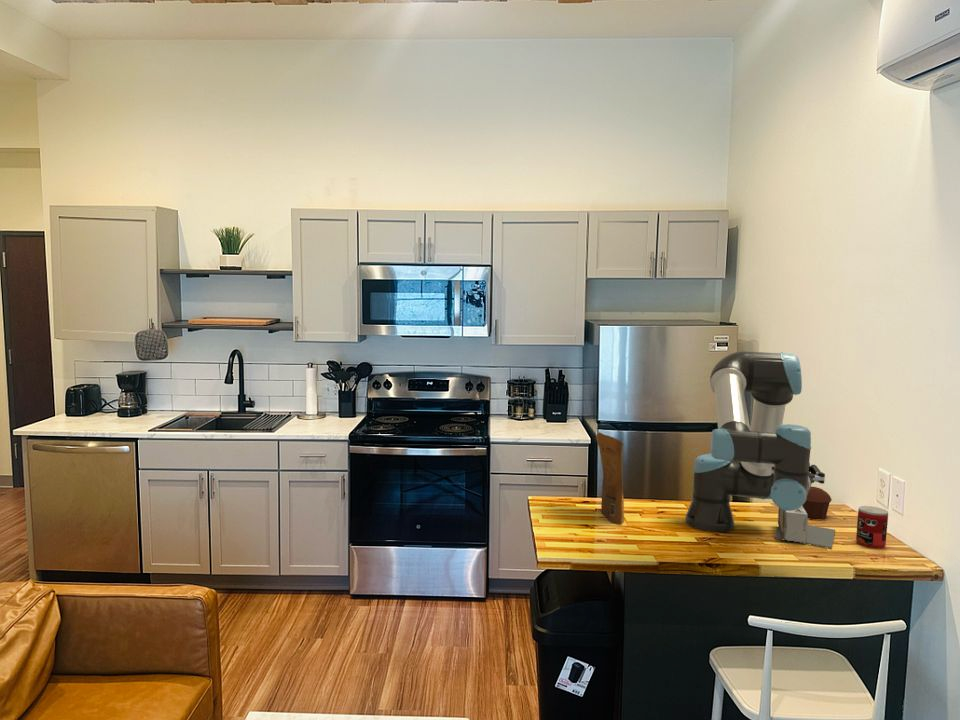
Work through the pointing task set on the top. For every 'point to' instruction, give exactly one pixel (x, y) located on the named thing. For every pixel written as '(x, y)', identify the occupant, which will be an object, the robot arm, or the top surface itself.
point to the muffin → (817, 503)
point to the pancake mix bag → (611, 478)
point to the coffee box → (793, 524)
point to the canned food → (872, 527)
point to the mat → (815, 536)
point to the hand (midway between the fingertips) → (803, 462)
